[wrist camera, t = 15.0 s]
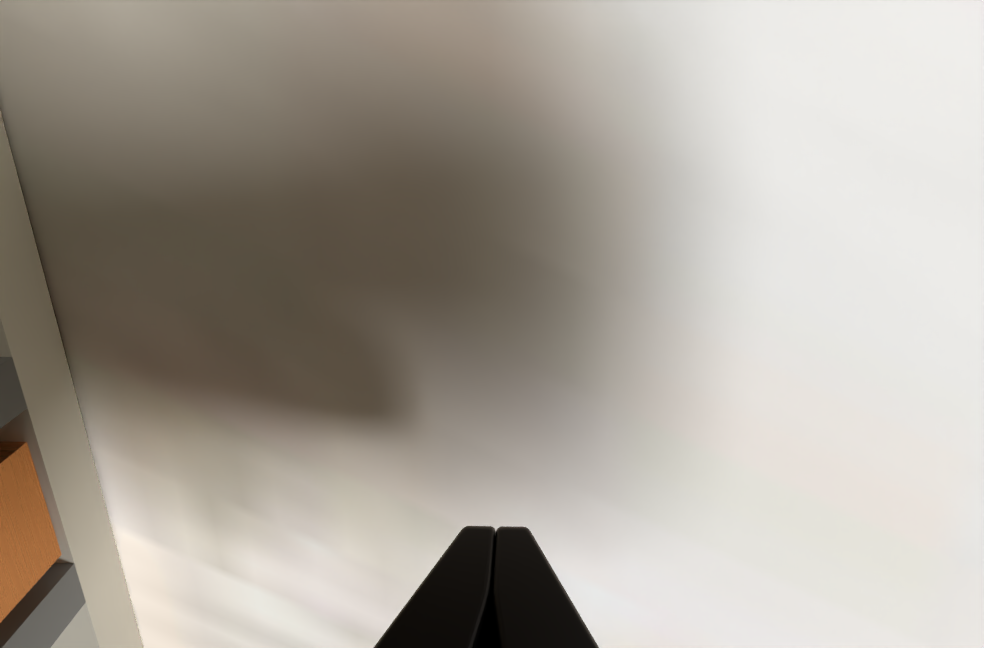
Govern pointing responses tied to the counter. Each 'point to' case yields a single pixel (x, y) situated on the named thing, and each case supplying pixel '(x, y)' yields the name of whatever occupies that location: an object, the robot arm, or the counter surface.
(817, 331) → the counter surface
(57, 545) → the lock pin
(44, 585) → the dock
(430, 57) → the counter surface
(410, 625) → the robot arm
